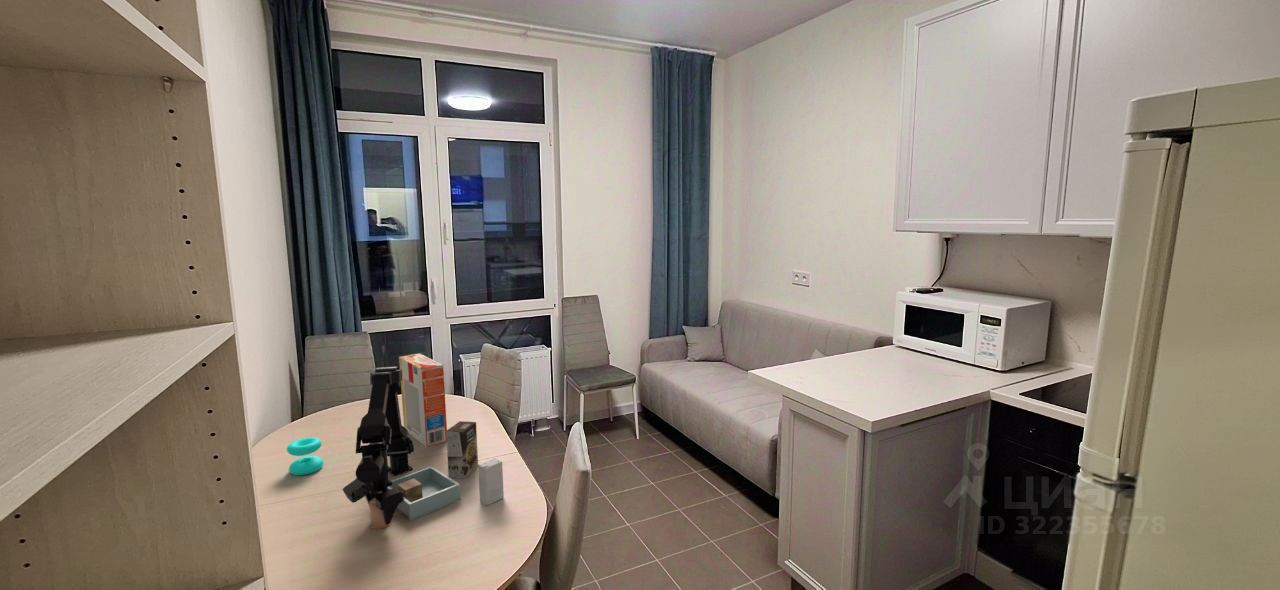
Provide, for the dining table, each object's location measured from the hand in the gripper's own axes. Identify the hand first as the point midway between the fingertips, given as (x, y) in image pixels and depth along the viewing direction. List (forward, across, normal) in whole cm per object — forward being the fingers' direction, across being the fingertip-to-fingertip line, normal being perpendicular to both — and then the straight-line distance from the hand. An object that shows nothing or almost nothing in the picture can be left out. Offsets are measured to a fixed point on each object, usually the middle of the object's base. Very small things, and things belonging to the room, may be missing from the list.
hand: (380, 517), depth 152 cm
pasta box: (+2, -50, +38) cm, 63 cm away
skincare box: (+2, +12, +28) cm, 31 cm away
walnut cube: (+1, -5, +11) cm, 12 cm away
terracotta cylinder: (+2, 0, 0) cm, 2 cm away
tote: (+2, -4, +14) cm, 15 cm away
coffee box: (+2, -11, +32) cm, 34 cm away
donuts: (+2, -52, -3) cm, 52 cm away
